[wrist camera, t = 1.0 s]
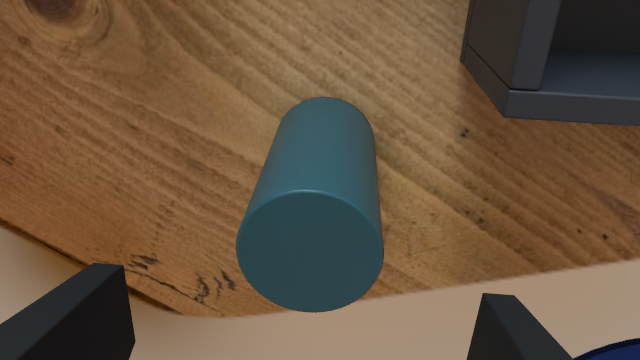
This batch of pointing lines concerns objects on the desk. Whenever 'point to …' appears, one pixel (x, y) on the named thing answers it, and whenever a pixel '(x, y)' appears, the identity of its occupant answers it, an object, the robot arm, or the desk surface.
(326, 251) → the teal cylinder
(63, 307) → the robot arm
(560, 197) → the desk surface
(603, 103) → the bin
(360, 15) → the desk surface
